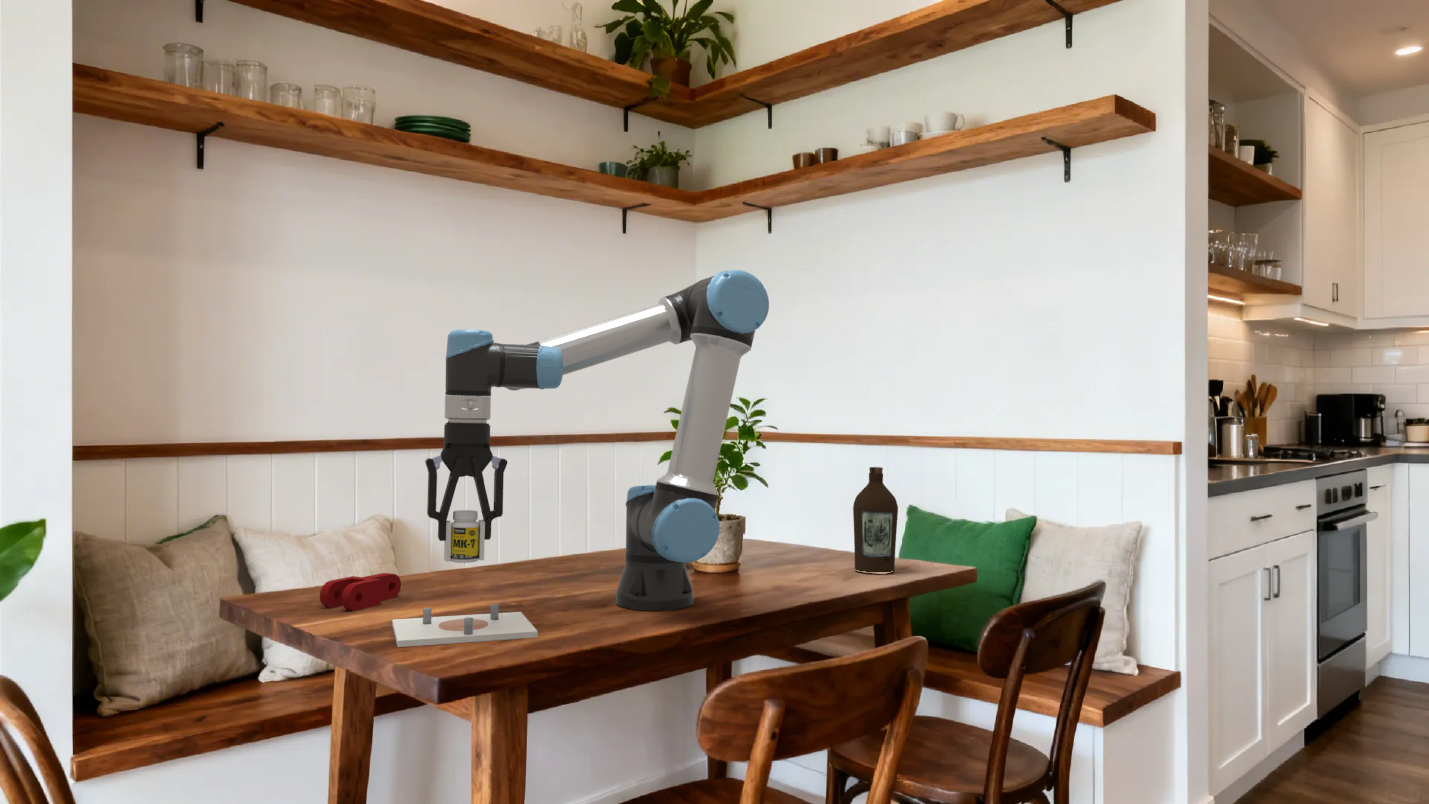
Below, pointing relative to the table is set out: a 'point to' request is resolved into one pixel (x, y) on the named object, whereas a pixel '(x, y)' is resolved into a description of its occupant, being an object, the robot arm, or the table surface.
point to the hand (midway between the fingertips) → (464, 559)
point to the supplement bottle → (464, 537)
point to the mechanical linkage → (360, 591)
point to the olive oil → (875, 525)
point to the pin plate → (462, 628)
